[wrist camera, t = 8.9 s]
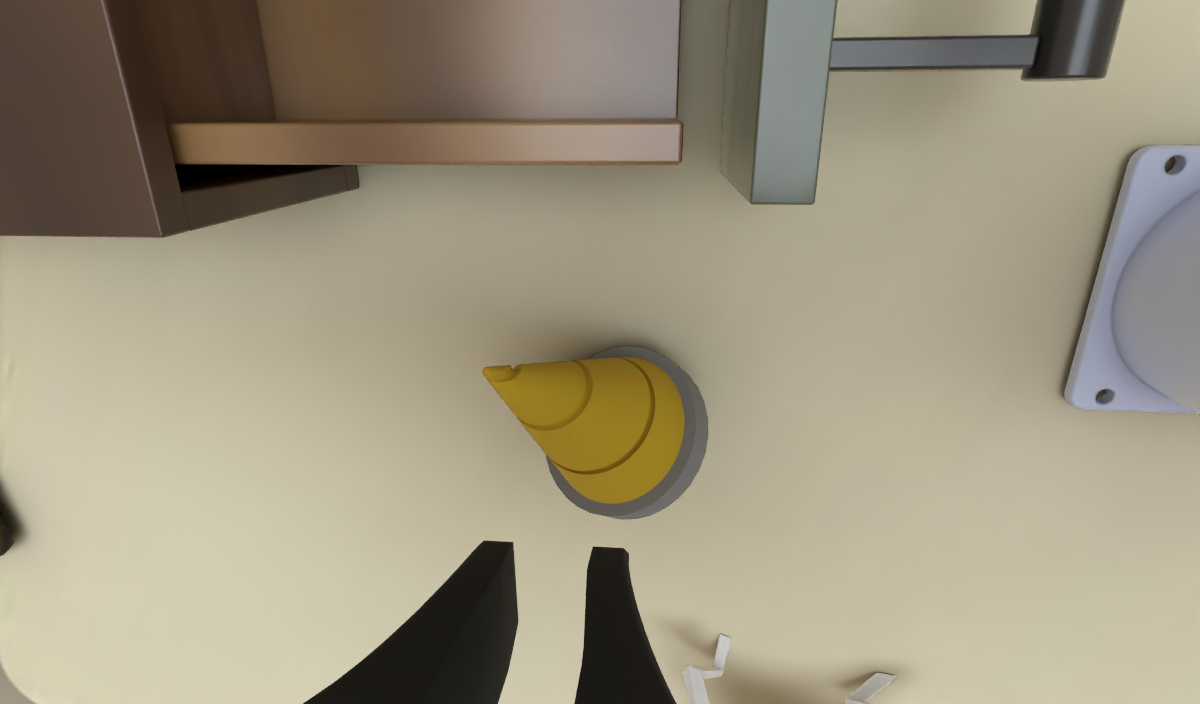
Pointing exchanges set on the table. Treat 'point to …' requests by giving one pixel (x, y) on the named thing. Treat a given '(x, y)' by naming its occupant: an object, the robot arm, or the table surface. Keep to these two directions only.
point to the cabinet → (112, 135)
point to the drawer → (544, 80)
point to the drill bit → (611, 427)
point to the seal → (5, 538)
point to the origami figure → (697, 673)
